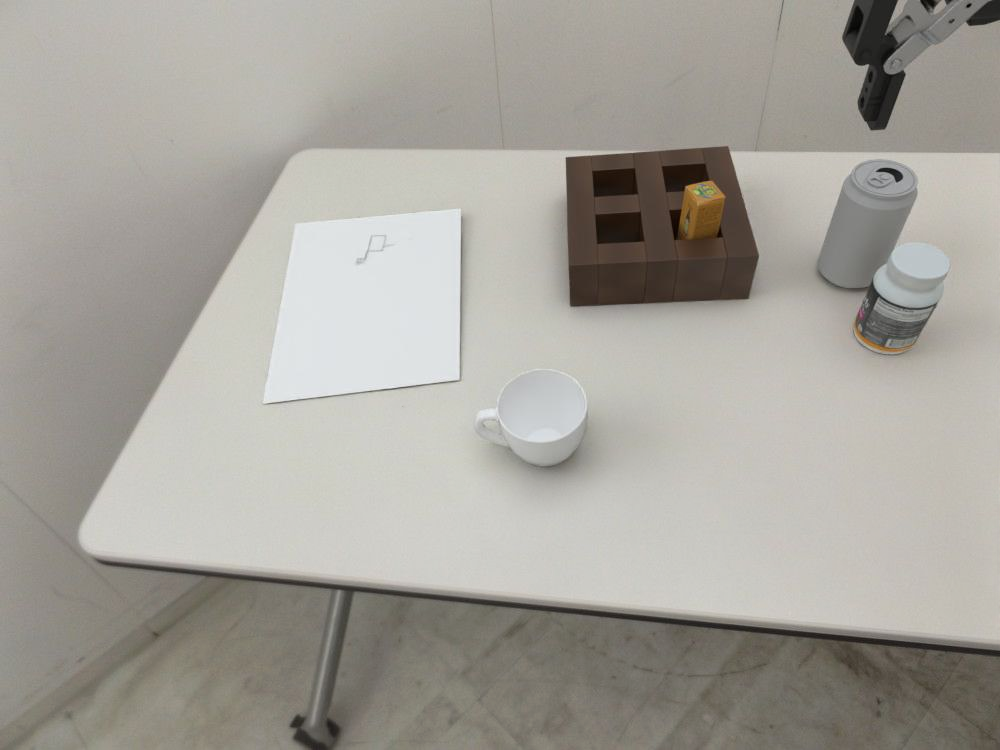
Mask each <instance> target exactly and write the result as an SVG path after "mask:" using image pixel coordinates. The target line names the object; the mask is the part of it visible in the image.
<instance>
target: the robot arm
mask: <svg viewBox="0 0 1000 750" xmlns="http://www.w3.org/2000/svg"><path fill="white" fill-rule="evenodd" d="M941 1H942V0H906V2H905V4H904V6H903V9H902V11H901V13H899V15H898V16H897V17H896V18H894V19H893V20H892V17H893V15H894V12H895V10H896V8H897V5H898V2H899V0H853V3H852V6H851V9H850V12H849V14H848V17H847V21H846V24H845V27H844V30H843V33H842V35H841V41H842V42H843V45H844V46H845V48H846V49H847V52H848V53H849V55H850V57H851V59H852V61H853V62H854V64H855V65H857V66H859V67H864V66H867V65H868V67H867V70H866V72H865V73H866V74H865V77H864V80H863V83H862V86H861V89H860V93H859V95H858V98H857V109H858V112H859V114H860V115H861V118H862V119H863V121H864V122H865V123H866V124H867V126H868V128H869V130H870V131H872V132H873V131H884V130H886V129H887V127H888V125H889V121H890V119H891V116H892V114H893V111H894V108H895V105H896V102H897V100H898V98H899V94H900V92H901V89H902V86H903V84H904V80H905V78H906V75H907V74H906V71H905V69H906V68H907V66H909V65H910V64H911V63H912V62H913V61H915V60H916V59H917V58H918V57H919V56H920V55H921V54H923V52H925V51H926V50H927V49H929V47H930V46H933V45H939V44H941V43H943V42H944V41H946V39H948V38H949V37H950V36H951V35H952V34H953V33H955V32H956V31H957V30H958V29H959V28H960V27H962V25H964V24H965V23H966V24H967V25H968V27H976V26H985V25H988V24H989V25H990V24H992V23H995V22H999V21H1000V0H944V2H945V4H946V5H945V6H944V7H943V8H942V9H941V10H940V11H939V12H937V13H935V14H934V12H935V9H936V7H937V6H938V4H939V3H941ZM891 20H892V22H891Z"/></svg>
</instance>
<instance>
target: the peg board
mask: <svg viewBox="0 0 1000 750" xmlns="http://www.w3.org/2000/svg"><path fill="white" fill-rule="evenodd" d="M706 181H713V182H714V183H715V185H716V186H717V187H718V188H719V189H720V191H721V192H722V193H723V194H724V195H725V197H726V198H725V201H724V206H723V211H722V216H721V222H720V226H719V232H718V236H717V238H704V239H685V240H677V235H678V229H679V223H680V217H681V211H682V205H683V199H684V192H685V187H686V186H688V185H692V184H696V183H701V182H706ZM565 184H566V186H565V189H566V215H567V216H566V217H567V218H566V221H567V222H566V225H567V226H566V227H567V228H566V229H567V260H568V287H569V288H568V289H569V306H570V307H590V306H612V305H613V306H615V305H635V304H637V305H638V304H657V303H659V304H660V303H679V302H704V301H723V300H725V301H726V300H747V299H749V298H750V294H751V290H752V286H753V282H754V277H755V274H756V270H757V266H758V262H759V257H760V254H759V250H758V246H757V243H756V240H755V236H754V231H753V229H752V225H751V222H750V218H749V215H748V211H747V208H746V204H745V200H744V198H743V193H742V190H741V186H740V182H739V179H738V176H737V172H736V169H735V165H734V162H733V158H732V154H731V151H730V147H729V146H728V145H724V146H722V145H721V146H710V147H709V146H708V147H693V148H681V149H665V150H653V151H651V150H650V151H637V152H636V151H635V152H622V153H608V154H594V155H593V154H592V155H580V156H579V155H575V156H566V157H565Z"/></svg>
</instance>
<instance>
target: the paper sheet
mask: <svg viewBox="0 0 1000 750" xmlns="http://www.w3.org/2000/svg"><path fill="white" fill-rule="evenodd" d="M461 241H462V208H452V209H441V210H431V211H420V212H419V211H418V212H407V213H397V214H395V213H394V214H387V215H376V216H373V215H372V216H363V217H354V218H352V217H351V218H341V219H340V218H339V219H330V220H319V221H318V220H317V221H309V222H308V221H307V222H298V223H297V222H296V223H294V228H293V235H292V239H291V245H290V251H289V256H288V262H287V267H286V272H285V278H284V283H283V288H282V295H281V300H280V306H279V309H278V310H279V311H278V316H277V321H276V328H275V333H274V337H273V344H272V348H271V349H272V350H271V355H270V361H269V367H268V372H267V377H266V383H265V387H264V393H263V399H262V405H263V404H271V403H272V404H273V403H280V402H288V401H298V400H305V399H313V398H321V397H322V398H323V397H330V396H339V395H347V394H355V393H356V394H357V393H364V392H370V391H379V390H380V391H381V390H388V389H395V388H396V389H397V388H405V387H413V386H420V385H422V386H423V385H429V384H436V383H437V384H438V383H446V382H453V381H460V378H461V377H460V376H461V375H460V374H461V373H460V372H461V371H460V368H461V367H460V364H461V359H460V358H461V354H460V353H461V268H462V267H461V260H462V259H461V257H462V256H461V255H462V254H461V253H462V250H461V248H462V246H461V245H462V242H461Z"/></svg>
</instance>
